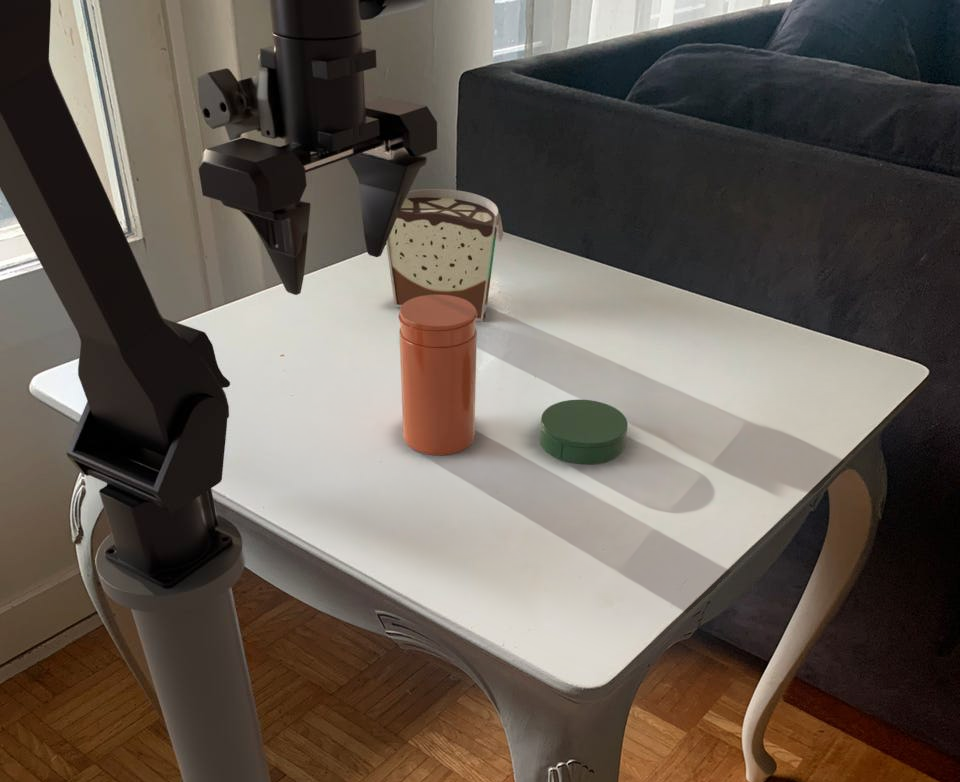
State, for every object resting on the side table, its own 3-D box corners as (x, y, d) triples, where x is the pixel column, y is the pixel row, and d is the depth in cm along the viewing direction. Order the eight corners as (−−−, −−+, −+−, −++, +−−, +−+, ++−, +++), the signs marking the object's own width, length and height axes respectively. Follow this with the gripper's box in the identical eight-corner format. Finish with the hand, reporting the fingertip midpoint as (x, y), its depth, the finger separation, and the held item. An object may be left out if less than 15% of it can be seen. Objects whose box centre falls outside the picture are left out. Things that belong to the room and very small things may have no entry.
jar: (448, 463, 74) (448, 334, 67) (388, 440, 76) (382, 313, 69) (488, 431, 78) (492, 306, 70) (430, 411, 80) (428, 287, 73)
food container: (516, 300, 97) (521, 197, 90) (497, 324, 93) (501, 218, 86) (404, 281, 100) (401, 180, 93) (381, 304, 95) (376, 199, 89)
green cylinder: (598, 474, 73) (600, 453, 72) (522, 446, 76) (524, 425, 75) (639, 436, 78) (642, 416, 76) (567, 411, 80) (569, 391, 79)
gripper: (319, -3, 70) (335, 217, 80) (116, 35, 58) (166, 286, 69) (441, 17, 65) (441, 247, 76) (247, 63, 54) (279, 326, 64)
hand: (335, 273), depth 71 cm, fingers open, 9 cm apart
